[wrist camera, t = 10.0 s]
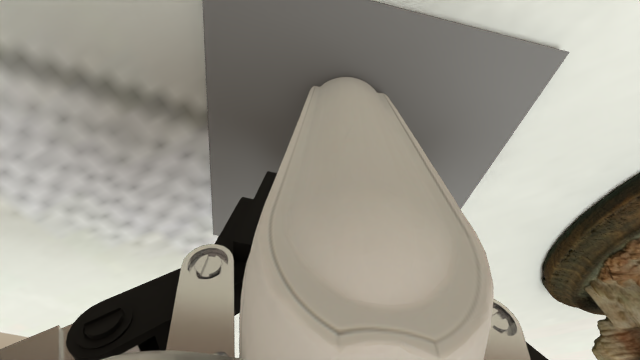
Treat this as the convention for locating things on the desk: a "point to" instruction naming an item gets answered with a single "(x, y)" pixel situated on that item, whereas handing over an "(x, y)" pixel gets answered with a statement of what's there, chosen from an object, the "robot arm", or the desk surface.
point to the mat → (369, 66)
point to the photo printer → (362, 245)
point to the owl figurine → (603, 270)
